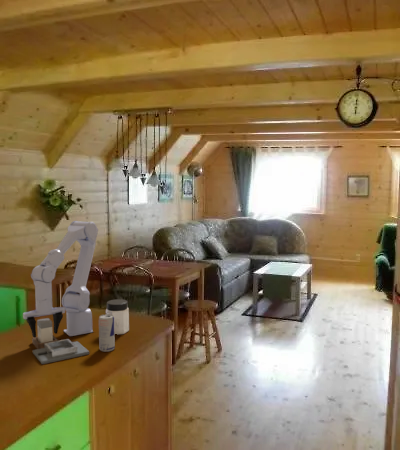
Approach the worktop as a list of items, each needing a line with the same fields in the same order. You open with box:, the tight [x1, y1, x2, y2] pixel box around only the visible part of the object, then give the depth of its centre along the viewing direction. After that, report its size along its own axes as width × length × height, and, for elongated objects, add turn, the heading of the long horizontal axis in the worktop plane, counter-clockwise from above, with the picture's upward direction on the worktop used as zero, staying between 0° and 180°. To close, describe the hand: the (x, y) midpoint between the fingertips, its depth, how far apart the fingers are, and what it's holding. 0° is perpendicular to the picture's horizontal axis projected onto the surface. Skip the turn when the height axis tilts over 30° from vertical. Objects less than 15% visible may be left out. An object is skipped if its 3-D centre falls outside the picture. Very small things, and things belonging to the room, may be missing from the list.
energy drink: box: [98, 313, 116, 353], centre depth 165 cm, size 5×5×12 cm
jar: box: [105, 298, 130, 336], centre depth 184 cm, size 9×8×12 cm
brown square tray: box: [31, 335, 59, 349], centre depth 170 cm, size 7×8×2 cm
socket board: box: [32, 338, 90, 365], centre depth 162 cm, size 16×12×3 cm
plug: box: [36, 317, 54, 343], centre depth 170 cm, size 4×5×9 cm
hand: (45, 334), depth 170 cm, fingers open, 7 cm apart
